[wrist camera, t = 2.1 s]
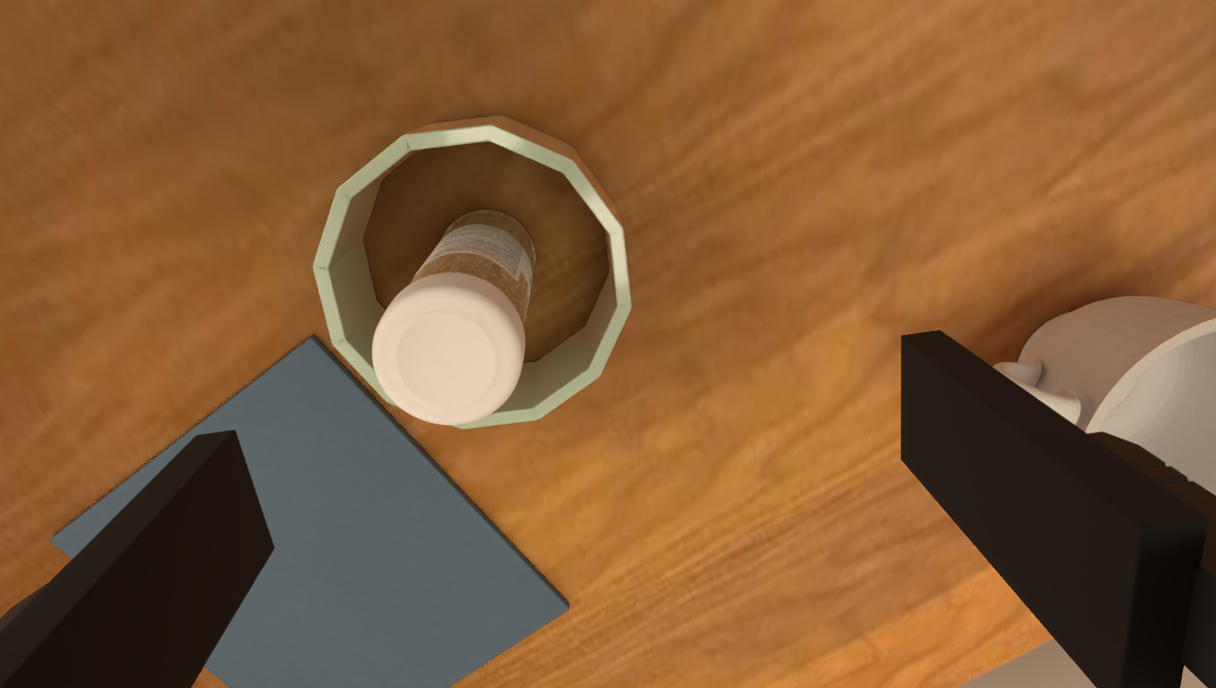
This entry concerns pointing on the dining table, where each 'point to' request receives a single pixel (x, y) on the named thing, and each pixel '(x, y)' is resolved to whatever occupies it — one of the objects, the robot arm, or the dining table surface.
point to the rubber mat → (352, 544)
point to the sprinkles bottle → (459, 323)
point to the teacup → (1132, 376)
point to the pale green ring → (360, 312)
